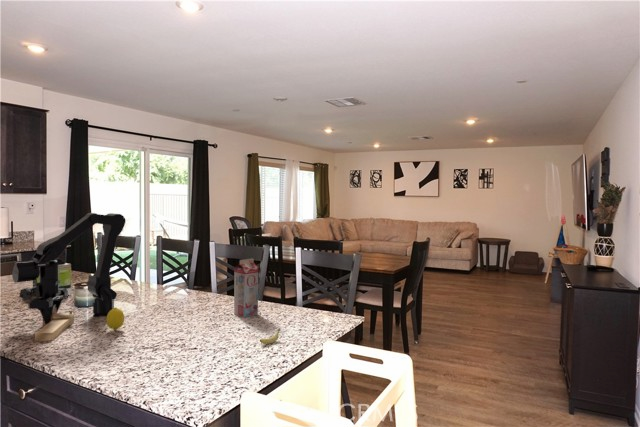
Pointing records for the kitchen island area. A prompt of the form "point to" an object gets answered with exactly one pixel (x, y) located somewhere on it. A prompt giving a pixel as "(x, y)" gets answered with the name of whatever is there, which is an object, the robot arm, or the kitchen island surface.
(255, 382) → the kitchen island surface
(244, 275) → the juice carton
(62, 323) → the plank
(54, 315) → the chocolate colored brick
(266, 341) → the banana
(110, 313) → the lemon
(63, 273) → the tea box
